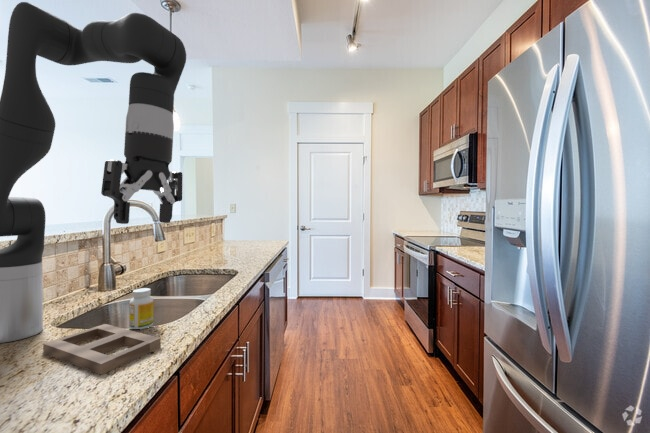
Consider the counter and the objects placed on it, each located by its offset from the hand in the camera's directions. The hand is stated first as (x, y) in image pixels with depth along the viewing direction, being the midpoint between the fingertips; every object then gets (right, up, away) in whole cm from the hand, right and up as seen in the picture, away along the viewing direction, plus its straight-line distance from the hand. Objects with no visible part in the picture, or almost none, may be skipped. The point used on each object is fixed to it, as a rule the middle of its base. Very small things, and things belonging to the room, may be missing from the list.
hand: (144, 223), depth 54 cm
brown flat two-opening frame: (-15, -28, +10) cm, 33 cm away
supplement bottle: (-15, -28, +23) cm, 39 cm away
